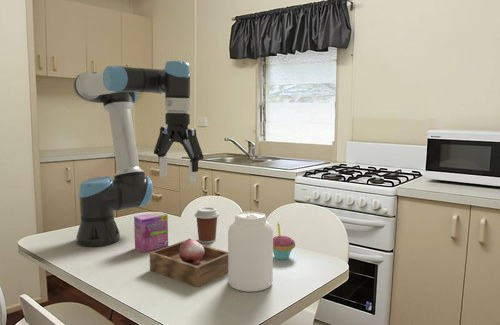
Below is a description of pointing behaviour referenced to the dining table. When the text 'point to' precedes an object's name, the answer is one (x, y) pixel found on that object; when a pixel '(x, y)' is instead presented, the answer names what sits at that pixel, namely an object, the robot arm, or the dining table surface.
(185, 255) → the onion
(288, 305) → the dining table surface
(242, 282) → the white lidded jar
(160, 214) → the box
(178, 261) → the wooden tray
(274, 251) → the cupcake
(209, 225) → the coffee cup
